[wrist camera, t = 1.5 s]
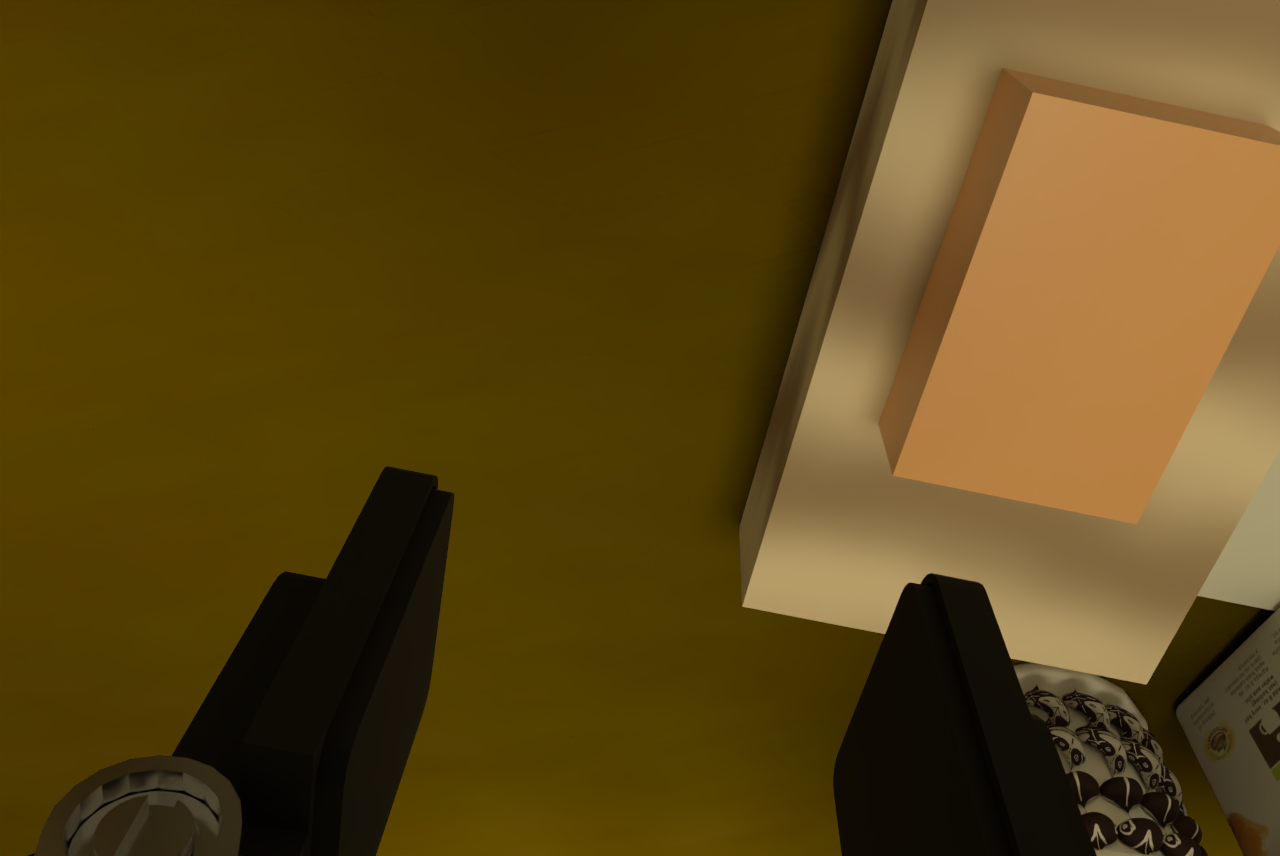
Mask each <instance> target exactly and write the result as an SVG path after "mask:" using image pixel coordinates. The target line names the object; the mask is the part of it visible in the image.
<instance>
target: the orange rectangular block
mask: <svg viewBox="0 0 1280 856" xmlns="http://www.w3.org/2000/svg"><path fill="white" fill-rule="evenodd" d="M1279 245H1280V132H1279V131H1277V130H1275V129H1274V128H1272V127H1270V126H1267V125H1263V124H1258V123H1253V122H1249V121H1244V120H1239V119H1235V118H1230V117H1226V116H1221V115H1216V114H1212V113H1207V112H1203V111H1198V110H1193V109H1189V108H1184V107H1179V106H1175V105H1170V104H1166V103H1161V102H1156V101H1152V100H1147V99H1143V98H1138V97H1133V96H1129V95H1124V94H1119V93H1115V92H1110V91H1106V90H1101V89H1096V88H1092V87H1087V86H1083V85H1078V84H1073V83H1069V82H1064V81H1059V80H1055V79H1050V78H1046V77H1041V76H1036V75H1032V74H1027V73H1023V72H1018V71H1013V70H1009V69H1004V68H1003V69H1002V72H1001V74H1000V77H999V80H998V83H997V86H996V89H995V92H994V94H993V97H992V100H991V103H990V106H989V109H988V112H987V115H986V117H985V120H984V123H983V126H982V129H981V132H980V135H979V138H978V140H977V143H976V146H975V149H974V152H973V155H972V158H971V160H970V163H969V166H968V169H967V172H966V175H965V178H964V181H963V183H962V186H961V189H960V192H959V195H958V198H957V201H956V204H955V206H954V209H953V212H952V215H951V218H950V221H949V224H948V227H947V229H946V232H945V235H944V238H943V241H942V244H941V247H940V249H939V252H938V255H937V258H936V261H935V264H934V267H933V270H932V272H931V275H930V278H929V281H928V284H927V287H926V290H925V293H924V295H923V298H922V301H921V304H920V307H919V310H918V313H917V315H916V318H915V321H914V324H913V327H912V330H911V333H910V336H909V338H908V341H907V344H906V347H905V350H904V353H903V356H902V359H901V361H900V364H899V367H898V370H897V373H896V376H895V379H894V382H893V384H892V387H891V390H890V393H889V396H888V399H887V402H886V404H885V407H884V410H883V413H882V416H881V419H880V422H879V429H880V433H881V436H882V440H883V443H884V447H885V450H886V454H887V457H888V461H889V464H890V468H891V472H892V475H893V476H897V477H902V478H907V479H912V480H917V481H922V482H927V483H932V484H937V485H942V486H947V487H952V488H957V489H962V490H967V491H972V492H977V493H982V494H987V495H992V496H997V497H1002V498H1007V499H1012V500H1017V501H1022V502H1027V503H1032V504H1037V505H1042V506H1047V507H1052V508H1057V509H1062V510H1067V511H1072V512H1077V513H1082V514H1087V515H1092V516H1097V517H1102V518H1107V519H1112V520H1117V521H1122V522H1127V523H1132V524H1137V523H1138V521H1139V519H1140V517H1141V515H1142V513H1143V511H1144V509H1145V508H1146V506H1147V504H1148V502H1149V500H1150V498H1151V496H1152V494H1153V492H1154V490H1155V488H1156V486H1157V484H1158V482H1159V480H1160V478H1161V476H1162V474H1163V472H1164V470H1165V468H1166V466H1167V464H1168V463H1169V461H1170V459H1171V457H1172V455H1173V453H1174V451H1175V449H1176V447H1177V445H1178V443H1179V441H1180V439H1181V437H1182V435H1183V433H1184V431H1185V429H1186V427H1187V425H1188V423H1189V421H1190V420H1191V418H1192V416H1193V414H1194V412H1195V410H1196V408H1197V406H1198V404H1199V402H1200V400H1201V398H1202V396H1203V394H1204V392H1205V390H1206V388H1207V386H1208V384H1209V382H1210V380H1211V378H1212V376H1213V375H1214V373H1215V371H1216V369H1217V367H1218V365H1219V363H1220V361H1221V359H1222V357H1223V355H1224V353H1225V351H1226V349H1227V347H1228V345H1229V343H1230V341H1231V339H1232V337H1233V335H1234V333H1235V331H1236V330H1237V328H1238V326H1239V324H1240V322H1241V320H1242V318H1243V316H1244V314H1245V312H1246V310H1247V308H1248V306H1249V304H1250V302H1251V300H1252V298H1253V296H1254V294H1255V292H1256V290H1257V288H1258V286H1259V285H1260V283H1261V281H1262V279H1263V277H1264V275H1265V273H1266V271H1267V269H1268V267H1269V265H1270V263H1271V261H1272V259H1273V257H1274V255H1275V253H1276V251H1277V249H1278V247H1279Z"/></svg>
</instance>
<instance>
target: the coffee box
mask: <svg viewBox="0 0 1280 856" xmlns="http://www.w3.org/2000/svg"><path fill="white" fill-rule="evenodd" d="M1176 716H1177V718H1178V720H1179V722H1180V724H1181V726H1182V728H1183V730H1184V732H1185V734H1186V737H1187V739H1188V741H1189V743H1190V745H1191V747H1192V749H1193V751H1194V753H1195V755H1196V757H1197V759H1198V761H1199V764H1200V766H1201V768H1202V770H1203V772H1204V774H1205V777H1206V779H1207V781H1208V783H1209V785H1210V786H1211V788H1212V790H1213V792H1214V794H1215V797H1216V799H1217V801H1218V803H1219V805H1220V807H1221V809H1222V811H1223V813H1224V815H1225V817H1226V819H1227V821H1228V823H1229V825H1230V827H1231V829H1232V831H1233V833H1234V835H1235V837H1236V839H1237V841H1238V843H1239V846H1240V848H1241V850H1242V852H1243V854H1244V856H1280V607H1279V608H1278V609H1277V610H1276V611H1275V612H1274V613H1273V614H1272V615H1271V616H1270V617H1269V618H1268V619H1267V620H1266V621H1265V622H1264V623H1263V624H1262V625H1261V626H1260V627H1259V628H1258V629H1257V630H1256V631H1255V632H1254V633H1253V634H1252V635H1251V636H1250V637H1249V638H1248V639H1247V640H1246V641H1245V642H1243V643H1242V644H1241V645H1240V646H1239V647H1238V648H1237V649H1236V650H1235V651H1234V652H1233V653H1232V654H1231V655H1230V656H1229V657H1228V658H1227V659H1226V660H1225V661H1224V662H1223V663H1222V664H1221V665H1220V666H1219V667H1218V668H1217V669H1216V670H1215V671H1214V672H1213V673H1212V674H1211V675H1210V676H1209V677H1208V678H1207V679H1206V680H1205V681H1204V682H1203V683H1201V684H1200V685H1199V686H1198V687H1197V688H1196V689H1195V690H1194V691H1193V692H1192V693H1191V694H1190V695H1189V696H1188V697H1187V698H1186V699H1185V700H1184V701H1183V702H1182V703H1181V704H1180V705H1179V706H1178V708H1177V710H1176Z"/></svg>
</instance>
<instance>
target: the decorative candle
mask: <svg viewBox="0 0 1280 856" xmlns="http://www.w3.org/2000/svg"><path fill="white" fill-rule="evenodd" d="M1013 666H1014V669H1015V672H1016V675H1017V677H1018V680H1019V683H1020V686H1021V688H1022V691H1023V694H1024V697H1025V700H1026V702H1027V705H1028V708H1029V711H1030V713H1031V714H1034V715H1037V716H1038V717H1040V718H1041V719H1042V720H1043V721H1044V722H1045V724H1046V725H1047V727H1048V729H1049V731H1050V733H1051V736H1052V738H1053V741H1054V744H1055V746H1056V749H1057V752H1058V754H1059V757H1060V759H1061V762H1062V765H1063V767H1064V770H1065V773H1066V775H1067V778H1068V781H1069V783H1070V786H1071V789H1072V791H1073V794H1074V797H1075V799H1076V802H1077V804H1078V807H1079V810H1080V812H1081V815H1082V818H1083V820H1084V823H1085V826H1086V828H1087V831H1088V834H1089V836H1090V839H1091V842H1092V844H1093V847H1094V850H1095V852H1096V855H1097V856H1208V855H1207V853H1206V851H1205V850H1204V848H1203V847H1202V846H1200V845H1199V843H1200V841H1201V838H1202V833H1201V829H1200V827H1199V825H1198V824H1197V823H1196V822H1195V821H1194V820H1193V819H1192V818H1190V817H1188V816H1187V810H1186V807H1185V804H1184V802H1183V800H1182V789H1181V786H1180V783H1179V781H1178V779H1177V777H1176V776H1175V775H1174V773H1173V772H1172V771H1171V770H1170V769H1169V768H1168V767H1166V766H1165V764H1164V763H1163V751H1162V748H1161V746H1160V744H1159V742H1158V740H1157V739H1156V738H1155V736H1154V735H1153V734H1152V733H1150V732H1149V731H1148V724H1147V722H1146V720H1145V718H1144V717H1143V716H1142V714H1141V713H1140V711H1139V710H1138V709H1137V707H1136V706H1135V705H1134V703H1133V702H1132V700H1131V699H1130V698H1129V696H1128V695H1127V694H1126V692H1125V691H1124V689H1123V688H1121V687H1119V686H1117V685H1115V684H1113V683H1112V682H1110V681H1108V680H1106V679H1104V678H1102V677H1100V676H1098V675H1094V674H1089V673H1084V672H1079V671H1074V670H1068V669H1063V668H1058V667H1053V666H1048V665H1043V664H1037V663H1032V662H1030V663H1023V664H1017V665H1013Z"/></svg>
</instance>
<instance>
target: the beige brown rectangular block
mask: <svg viewBox="0 0 1280 856" xmlns="http://www.w3.org/2000/svg"><path fill="white" fill-rule="evenodd" d="M1003 68H1004V69H1009V70H1013V71H1018V72H1023V73H1027V74H1032V75H1036V76H1041V77H1046V78H1050V79H1055V80H1059V81H1064V82H1069V83H1073V84H1078V85H1083V86H1087V87H1092V88H1096V89H1101V90H1106V91H1110V92H1115V93H1119V94H1124V95H1129V96H1133V97H1138V98H1143V99H1147V100H1152V101H1156V102H1161V103H1166V104H1170V105H1175V106H1179V107H1184V108H1189V109H1193V110H1198V111H1203V112H1207V113H1212V114H1216V115H1221V116H1226V117H1230V118H1235V119H1239V120H1244V121H1249V122H1253V123H1258V124H1263V125H1267V126H1270V127H1272V128H1274V129H1275V130H1277V131H1279V132H1280V0H892V4H891V7H890V11H889V14H888V17H887V21H886V24H885V28H884V31H883V35H882V38H881V41H880V45H879V48H878V52H877V55H876V59H875V62H874V66H873V69H872V72H871V76H870V79H869V83H868V86H867V90H866V93H865V97H864V100H863V103H862V107H861V110H860V114H859V117H858V121H857V124H856V127H855V131H854V134H853V138H852V141H851V145H850V148H849V152H848V155H847V158H846V162H845V165H844V169H843V172H842V176H841V179H840V182H839V186H838V189H837V193H836V196H835V200H834V203H833V207H832V210H831V213H830V217H829V220H828V224H827V227H826V231H825V234H824V237H823V241H822V244H821V248H820V251H819V255H818V258H817V262H816V265H815V268H814V272H813V275H812V279H811V282H810V286H809V289H808V292H807V296H806V299H805V303H804V306H803V310H802V313H801V317H800V320H799V323H798V327H797V330H796V334H795V337H794V341H793V344H792V348H791V351H790V354H789V358H788V361H787V365H786V368H785V372H784V375H783V378H782V382H781V385H780V389H779V392H778V396H777V399H776V403H775V406H774V409H773V413H772V416H771V420H770V423H769V427H768V430H767V433H766V437H765V440H764V444H763V447H762V451H761V454H760V458H759V461H758V464H757V468H756V471H755V475H754V478H753V482H752V485H751V488H750V492H749V495H748V499H747V502H746V506H745V509H744V513H743V516H742V519H741V523H740V526H739V537H740V563H741V588H742V607H747V608H753V609H758V610H763V611H768V612H773V613H778V614H784V615H789V616H794V617H799V618H804V619H810V620H815V621H820V622H825V623H830V624H835V625H841V626H846V627H851V628H856V629H861V630H866V631H872V632H877V633H882V634H885V633H886V631H887V628H888V626H889V623H890V621H891V618H892V616H893V613H894V611H895V608H896V606H897V603H898V601H899V598H900V595H901V593H902V591H903V589H904V587H905V586H906V585H907V583H910V582H911V583H916V584H921V582H922V580H923V579H924V578H925V576H926V575H927V574H930V573H934V574H939V575H944V576H949V577H954V578H959V579H964V580H969V581H975V582H979V583H981V584H983V586H984V588H985V590H986V592H987V595H988V598H989V600H990V603H991V606H992V609H993V611H994V614H995V617H996V620H997V622H998V625H999V628H1000V631H1001V633H1002V636H1003V639H1004V642H1005V644H1006V647H1007V650H1008V653H1009V655H1010V658H1011V659H1017V660H1022V661H1027V662H1032V663H1037V664H1043V665H1048V666H1053V667H1058V668H1063V669H1068V670H1074V671H1079V672H1084V673H1089V674H1094V675H1099V676H1105V677H1110V678H1115V679H1120V680H1125V681H1131V682H1136V683H1141V684H1146V685H1147V683H1148V681H1149V680H1150V678H1151V676H1152V674H1153V672H1154V671H1155V669H1156V667H1157V665H1158V664H1159V662H1160V660H1161V658H1162V657H1163V655H1164V653H1165V651H1166V650H1167V648H1168V646H1169V644H1170V643H1171V641H1172V639H1173V637H1174V635H1175V634H1176V632H1177V630H1178V628H1179V627H1180V625H1181V623H1182V621H1183V620H1184V618H1185V616H1186V614H1187V613H1188V611H1189V609H1190V607H1191V605H1192V604H1193V602H1194V600H1195V598H1196V597H1197V595H1198V593H1199V591H1200V590H1201V588H1202V586H1203V584H1204V583H1205V581H1206V579H1207V577H1208V575H1209V574H1210V572H1211V570H1212V568H1213V567H1214V565H1215V563H1216V561H1217V560H1218V558H1219V556H1220V554H1221V553H1222V551H1223V549H1224V547H1225V546H1226V544H1227V542H1228V540H1229V538H1230V537H1231V535H1232V533H1233V531H1234V530H1235V528H1236V526H1237V524H1238V523H1239V521H1240V519H1241V517H1242V516H1243V514H1244V512H1245V510H1246V508H1247V507H1248V505H1249V503H1250V501H1251V500H1252V498H1253V496H1254V494H1255V493H1256V491H1257V489H1258V487H1259V486H1260V484H1261V482H1262V480H1263V479H1264V477H1265V475H1266V473H1267V471H1268V470H1269V468H1270V466H1271V464H1272V463H1273V461H1274V459H1275V457H1276V456H1277V454H1278V452H1279V450H1280V245H1279V247H1278V249H1277V251H1276V253H1275V255H1274V257H1273V259H1272V261H1271V263H1270V265H1269V267H1268V269H1267V271H1266V273H1265V275H1264V277H1263V279H1262V281H1261V283H1260V285H1259V286H1258V288H1257V290H1256V292H1255V294H1254V296H1253V298H1252V300H1251V302H1250V304H1249V306H1248V308H1247V310H1246V312H1245V314H1244V316H1243V318H1242V320H1241V322H1240V324H1239V326H1238V328H1237V330H1236V331H1235V333H1234V335H1233V337H1232V339H1231V341H1230V343H1229V345H1228V347H1227V349H1226V351H1225V353H1224V355H1223V357H1222V359H1221V361H1220V363H1219V365H1218V367H1217V369H1216V371H1215V373H1214V375H1213V376H1212V378H1211V380H1210V382H1209V384H1208V386H1207V388H1206V390H1205V392H1204V394H1203V396H1202V398H1201V400H1200V402H1199V404H1198V406H1197V408H1196V410H1195V412H1194V414H1193V416H1192V418H1191V420H1190V421H1189V423H1188V425H1187V427H1186V429H1185V431H1184V433H1183V435H1182V437H1181V439H1180V441H1179V443H1178V445H1177V447H1176V449H1175V451H1174V453H1173V455H1172V457H1171V459H1170V461H1169V463H1168V464H1167V466H1166V468H1165V470H1164V472H1163V474H1162V476H1161V478H1160V480H1159V482H1158V484H1157V486H1156V488H1155V490H1154V492H1153V494H1152V496H1151V498H1150V500H1149V502H1148V504H1147V506H1146V508H1145V509H1144V511H1143V513H1142V515H1141V517H1140V519H1139V521H1138V523H1137V524H1132V523H1127V522H1122V521H1117V520H1112V519H1107V518H1102V517H1097V516H1092V515H1087V514H1082V513H1077V512H1072V511H1067V510H1062V509H1057V508H1052V507H1047V506H1042V505H1037V504H1032V503H1027V502H1022V501H1017V500H1012V499H1007V498H1002V497H997V496H992V495H987V494H982V493H977V492H972V491H967V490H962V489H957V488H952V487H947V486H942V485H937V484H932V483H927V482H922V481H917V480H912V479H907V478H902V477H897V476H893V475H892V472H891V468H890V464H889V461H888V457H887V454H886V450H885V447H884V443H883V440H882V436H881V433H880V429H879V422H880V419H881V416H882V413H883V410H884V407H885V404H886V402H887V399H888V396H889V393H890V390H891V387H892V384H893V382H894V379H895V376H896V373H897V370H898V367H899V364H900V361H901V359H902V356H903V353H904V350H905V347H906V344H907V341H908V338H909V336H910V333H911V330H912V327H913V324H914V321H915V318H916V315H917V313H918V310H919V307H920V304H921V301H922V298H923V295H924V293H925V290H926V287H927V284H928V281H929V278H930V275H931V272H932V270H933V267H934V264H935V261H936V258H937V255H938V252H939V249H940V247H941V244H942V241H943V238H944V235H945V232H946V229H947V227H948V224H949V221H950V218H951V215H952V212H953V209H954V206H955V204H956V201H957V198H958V195H959V192H960V189H961V186H962V183H963V181H964V178H965V175H966V172H967V169H968V166H969V163H970V160H971V158H972V155H973V152H974V149H975V146H976V143H977V140H978V138H979V135H980V132H981V129H982V126H983V123H984V120H985V117H986V115H987V112H988V109H989V106H990V103H991V100H992V97H993V94H994V92H995V89H996V86H997V83H998V80H999V77H1000V74H1001V72H1002V69H1003Z"/></svg>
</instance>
